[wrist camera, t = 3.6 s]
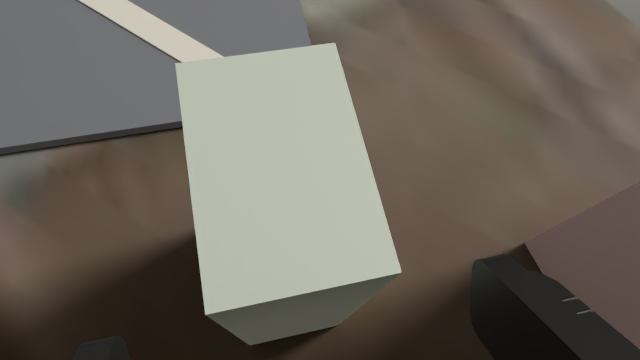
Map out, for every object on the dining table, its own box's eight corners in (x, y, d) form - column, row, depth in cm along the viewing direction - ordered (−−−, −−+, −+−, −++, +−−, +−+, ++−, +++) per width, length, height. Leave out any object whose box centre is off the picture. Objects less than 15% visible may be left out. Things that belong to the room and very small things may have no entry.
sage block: (249, 345, 20) (205, 314, 9) (230, 218, 22) (175, 63, 11) (337, 325, 20) (402, 272, 9) (310, 203, 22) (334, 42, 11)
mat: (-74, 165, 22) (-85, 159, 21) (-47, -53, 27) (-55, -63, 27) (324, 105, 25) (325, 98, 24) (276, -80, 30) (275, -90, 30)
